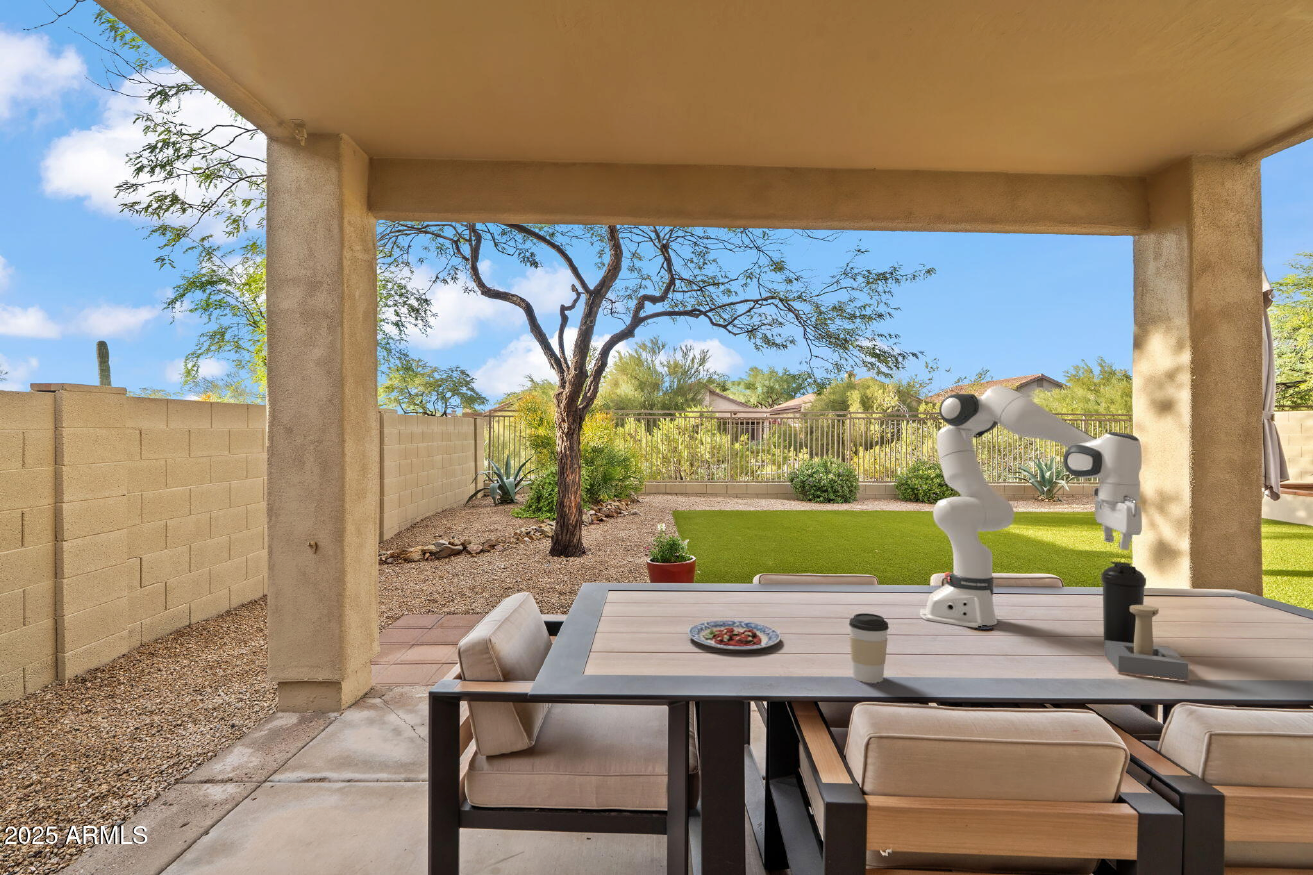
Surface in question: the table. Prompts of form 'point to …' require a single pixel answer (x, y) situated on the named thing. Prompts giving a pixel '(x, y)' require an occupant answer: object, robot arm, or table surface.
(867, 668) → the coffee cup
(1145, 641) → the handle
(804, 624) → the table surface
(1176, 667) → the socket block
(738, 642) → the ceramic plate
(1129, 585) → the water bottle
